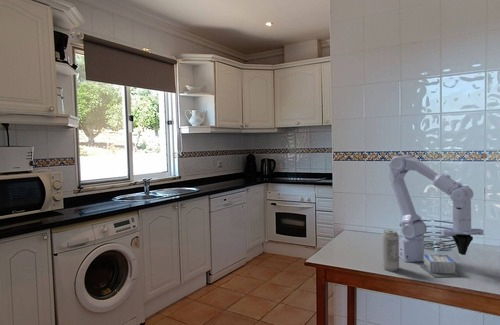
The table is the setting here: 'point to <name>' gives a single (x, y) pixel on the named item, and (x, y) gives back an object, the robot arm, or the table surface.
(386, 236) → the energy drink can
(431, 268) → the medicine box
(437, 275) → the mat
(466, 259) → the table surface
